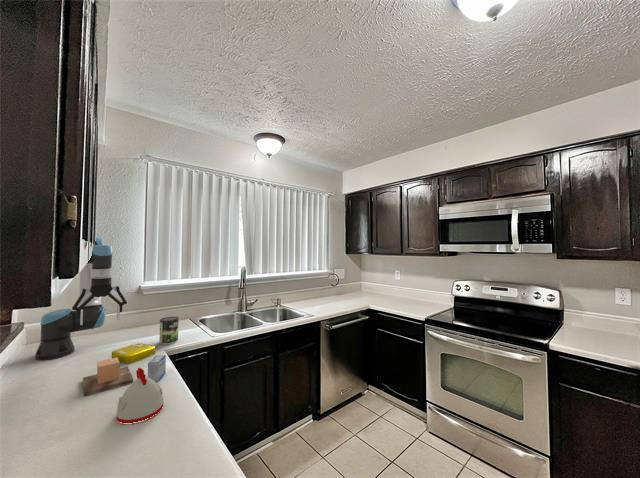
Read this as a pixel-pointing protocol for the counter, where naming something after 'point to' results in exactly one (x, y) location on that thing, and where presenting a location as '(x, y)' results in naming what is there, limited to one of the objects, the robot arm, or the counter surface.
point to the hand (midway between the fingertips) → (100, 321)
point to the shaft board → (93, 387)
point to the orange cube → (107, 370)
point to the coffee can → (168, 330)
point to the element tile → (133, 353)
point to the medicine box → (157, 367)
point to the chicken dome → (140, 400)
